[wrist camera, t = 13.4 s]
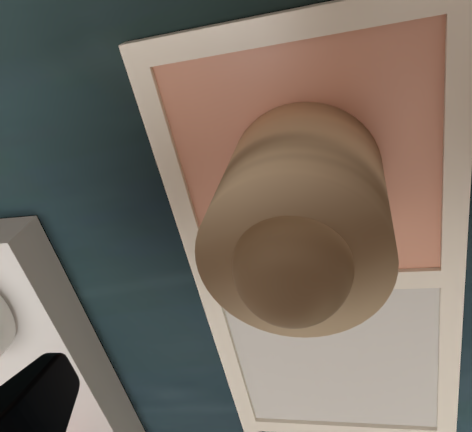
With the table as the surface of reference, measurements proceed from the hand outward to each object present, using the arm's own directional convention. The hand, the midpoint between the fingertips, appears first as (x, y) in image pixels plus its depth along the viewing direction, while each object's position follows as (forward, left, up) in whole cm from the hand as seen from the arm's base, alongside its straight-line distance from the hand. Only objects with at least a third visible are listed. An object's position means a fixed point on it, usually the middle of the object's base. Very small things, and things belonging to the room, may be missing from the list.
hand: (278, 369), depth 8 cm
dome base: (-10, +16, -9) cm, 21 cm away
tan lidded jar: (0, 0, -8) cm, 8 cm away
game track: (-10, 0, -9) cm, 13 cm away
